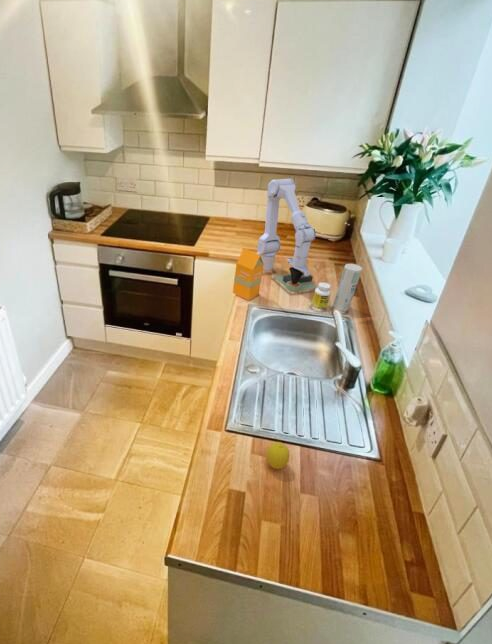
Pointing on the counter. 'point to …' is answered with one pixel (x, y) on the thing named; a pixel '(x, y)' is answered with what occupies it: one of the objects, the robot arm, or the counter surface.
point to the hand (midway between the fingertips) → (294, 283)
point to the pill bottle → (321, 296)
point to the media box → (295, 288)
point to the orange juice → (248, 275)
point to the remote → (301, 280)
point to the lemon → (277, 455)
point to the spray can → (347, 287)
